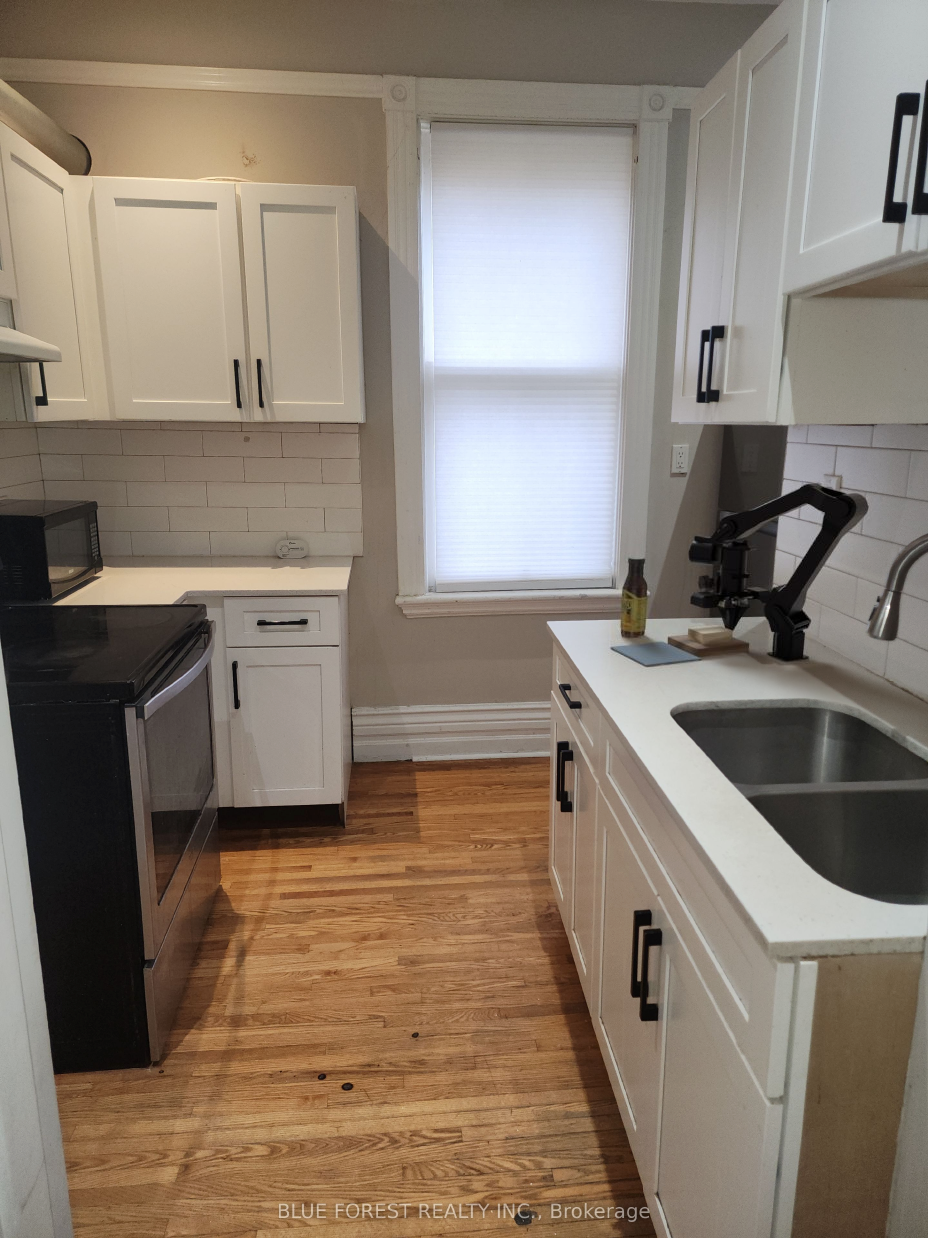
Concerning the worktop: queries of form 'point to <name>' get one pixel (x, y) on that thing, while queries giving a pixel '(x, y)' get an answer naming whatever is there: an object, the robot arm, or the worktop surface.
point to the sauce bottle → (634, 599)
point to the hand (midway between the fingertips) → (729, 633)
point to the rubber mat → (655, 653)
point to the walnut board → (708, 646)
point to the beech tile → (710, 634)
